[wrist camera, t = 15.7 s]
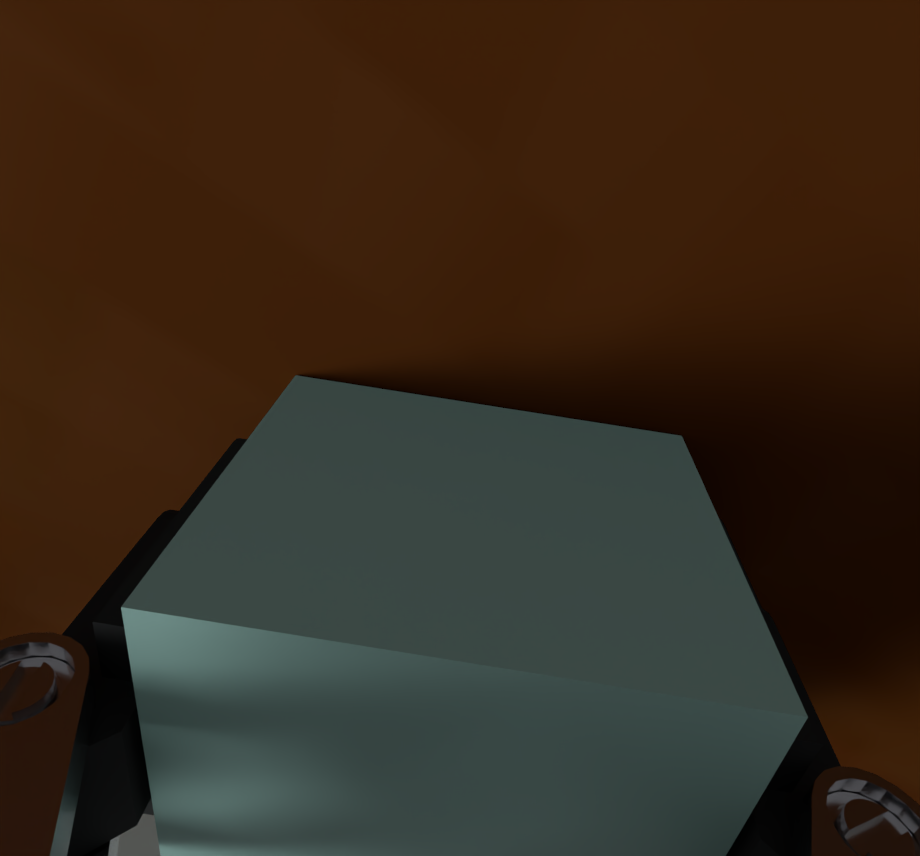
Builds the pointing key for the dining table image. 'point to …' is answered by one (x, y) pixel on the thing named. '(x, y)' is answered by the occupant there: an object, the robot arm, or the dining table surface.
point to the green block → (453, 642)
